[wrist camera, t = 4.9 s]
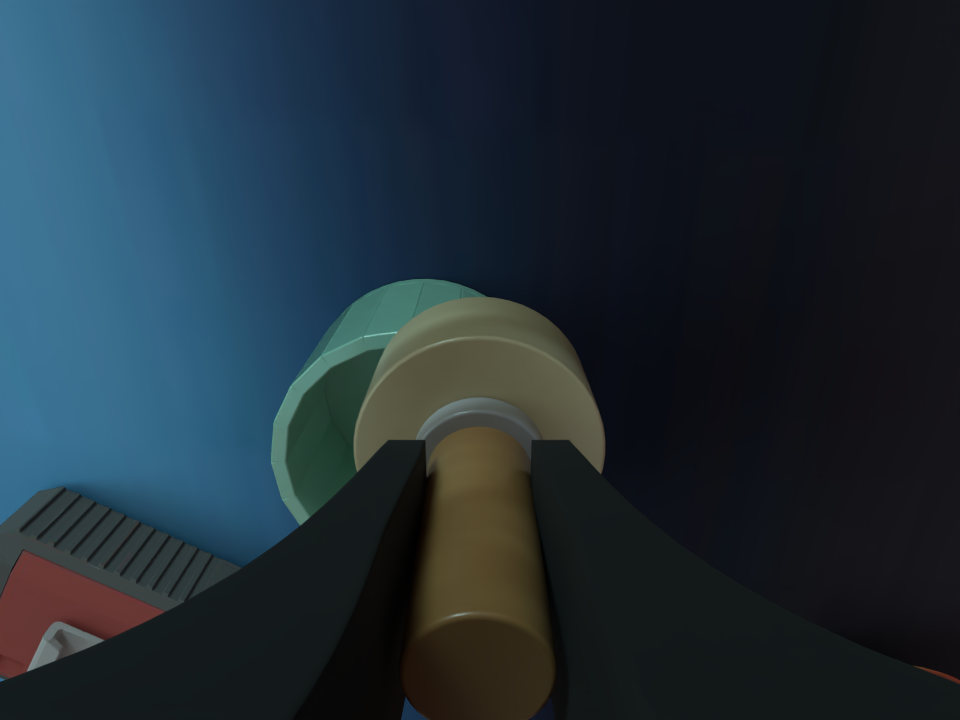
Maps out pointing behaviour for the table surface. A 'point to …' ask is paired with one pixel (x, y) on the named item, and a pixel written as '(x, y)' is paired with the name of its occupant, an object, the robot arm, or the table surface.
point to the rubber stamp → (479, 498)
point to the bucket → (341, 391)
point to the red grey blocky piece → (86, 577)
